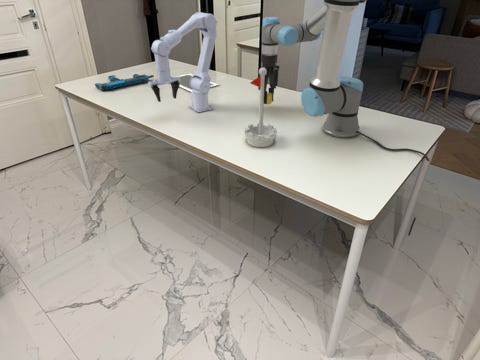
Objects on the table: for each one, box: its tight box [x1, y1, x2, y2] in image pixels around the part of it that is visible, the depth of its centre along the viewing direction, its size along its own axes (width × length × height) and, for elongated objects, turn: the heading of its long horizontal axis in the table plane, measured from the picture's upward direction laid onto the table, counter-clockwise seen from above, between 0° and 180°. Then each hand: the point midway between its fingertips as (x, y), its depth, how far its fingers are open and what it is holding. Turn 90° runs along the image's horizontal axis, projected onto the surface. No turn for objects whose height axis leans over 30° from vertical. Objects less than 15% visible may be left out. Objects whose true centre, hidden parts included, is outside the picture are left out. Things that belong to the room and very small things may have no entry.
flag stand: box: [244, 67, 278, 148], centre depth 133 cm, size 13×13×30 cm
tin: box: [266, 92, 273, 105], centre depth 169 cm, size 4×4×4 cm
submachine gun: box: [94, 73, 155, 91], centre depth 208 cm, size 34×4×25 cm
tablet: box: [175, 73, 220, 93], centre depth 208 cm, size 32×20×1 cm, turn 41°
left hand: (167, 99), depth 156 cm, fingers open, 7 cm apart
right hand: (267, 102), depth 170 cm, fingers closed on tin, 4 cm apart
